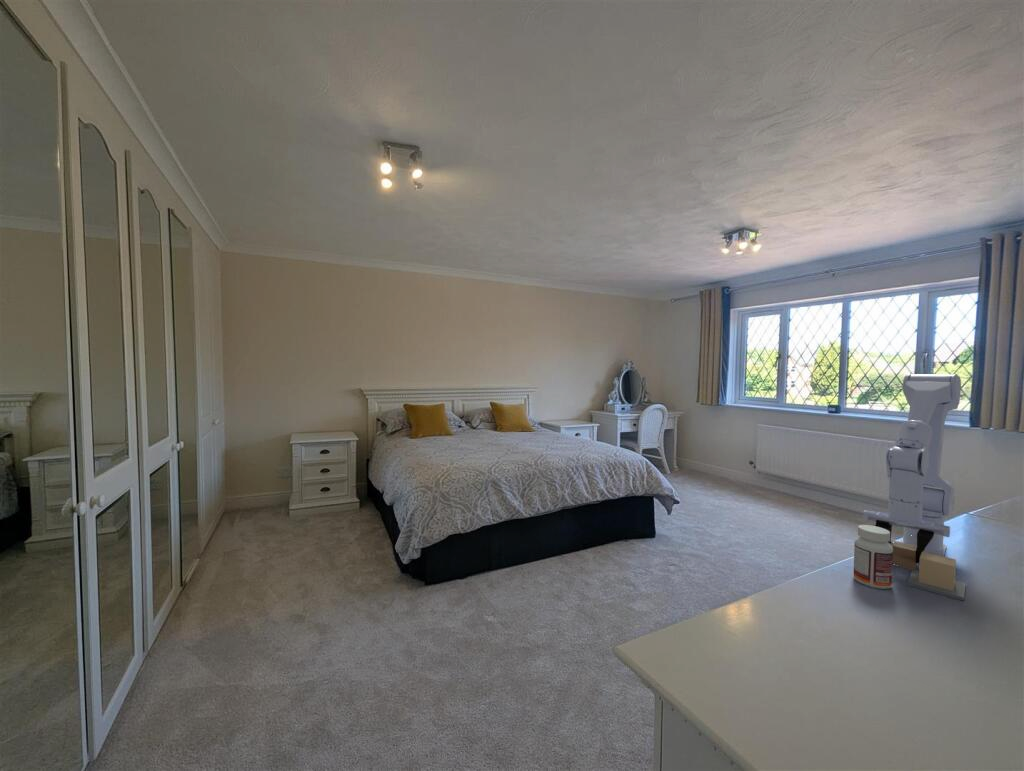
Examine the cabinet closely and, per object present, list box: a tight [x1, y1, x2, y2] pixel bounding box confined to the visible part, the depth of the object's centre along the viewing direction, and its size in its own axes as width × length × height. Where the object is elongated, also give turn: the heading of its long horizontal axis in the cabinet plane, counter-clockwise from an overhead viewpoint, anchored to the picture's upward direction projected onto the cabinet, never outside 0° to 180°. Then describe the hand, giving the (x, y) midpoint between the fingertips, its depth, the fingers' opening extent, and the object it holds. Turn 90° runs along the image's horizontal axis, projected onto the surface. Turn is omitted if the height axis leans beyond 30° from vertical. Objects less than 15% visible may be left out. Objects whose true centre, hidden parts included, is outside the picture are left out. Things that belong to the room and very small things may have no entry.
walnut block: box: [890, 539, 918, 571], centre depth 97 cm, size 4×4×4 cm
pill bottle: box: [853, 524, 894, 590], centre depth 88 cm, size 6×6×11 cm
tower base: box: [906, 552, 967, 601], centre depth 88 cm, size 9×8×6 cm
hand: (902, 558), depth 97 cm, fingers closed on walnut block, 4 cm apart
